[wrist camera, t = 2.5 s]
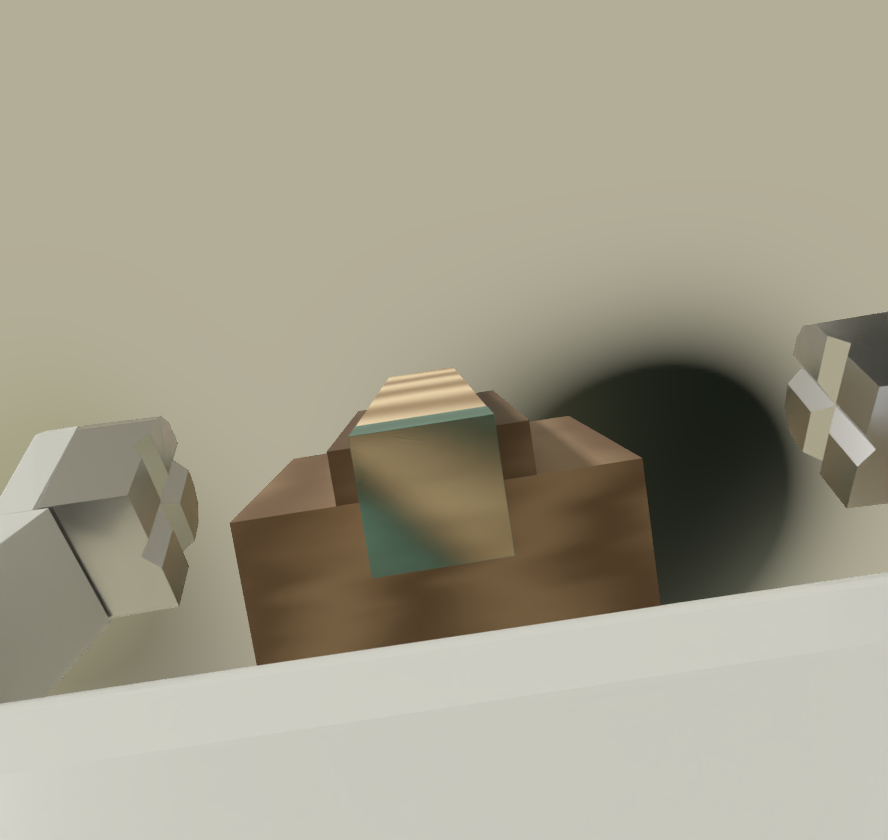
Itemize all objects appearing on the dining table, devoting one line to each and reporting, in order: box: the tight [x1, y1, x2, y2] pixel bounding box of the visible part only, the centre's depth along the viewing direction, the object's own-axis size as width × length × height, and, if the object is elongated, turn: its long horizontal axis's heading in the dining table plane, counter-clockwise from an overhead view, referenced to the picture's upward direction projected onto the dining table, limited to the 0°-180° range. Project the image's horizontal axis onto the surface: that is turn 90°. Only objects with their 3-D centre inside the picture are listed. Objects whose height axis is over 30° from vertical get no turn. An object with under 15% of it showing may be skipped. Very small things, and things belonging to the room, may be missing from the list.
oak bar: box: [348, 367, 515, 578], centre depth 31 cm, size 24×4×4 cm, turn 2°
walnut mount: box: [230, 391, 661, 666], centre depth 36 cm, size 15×14×28 cm
